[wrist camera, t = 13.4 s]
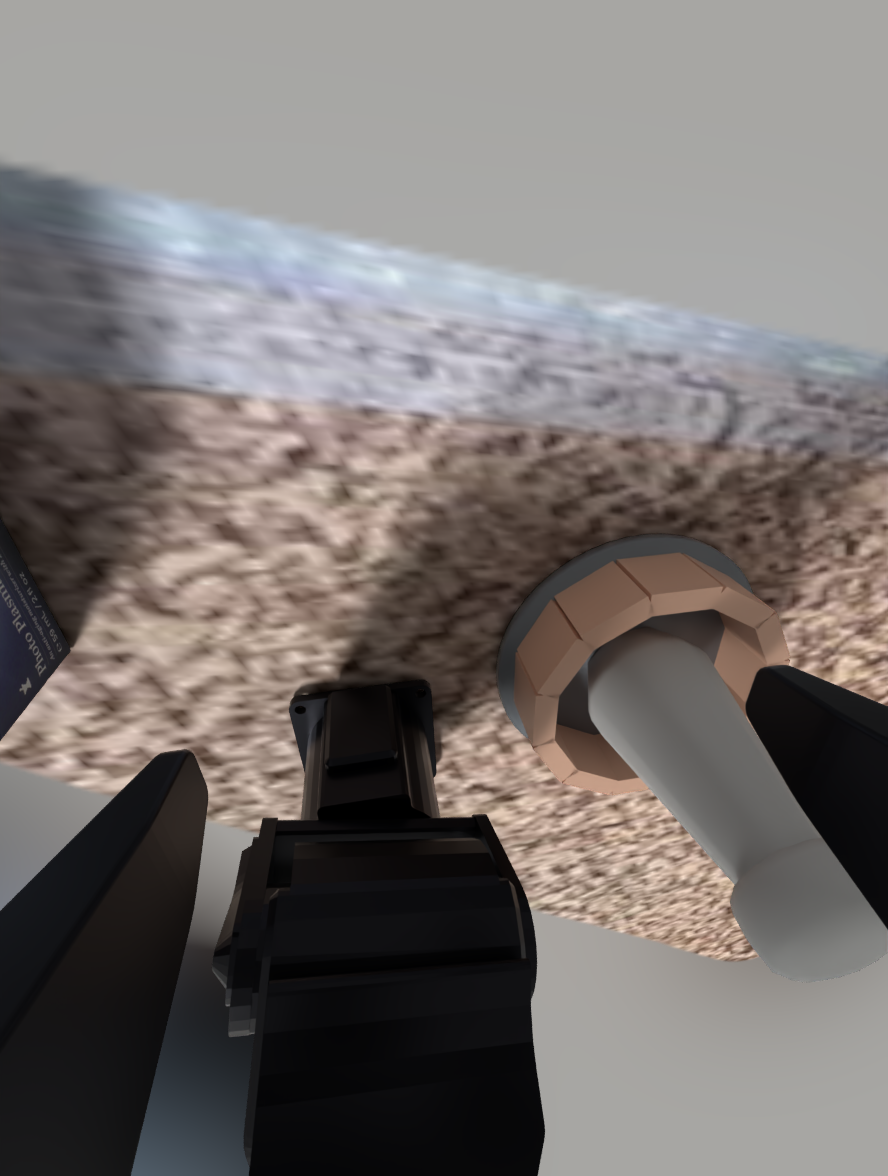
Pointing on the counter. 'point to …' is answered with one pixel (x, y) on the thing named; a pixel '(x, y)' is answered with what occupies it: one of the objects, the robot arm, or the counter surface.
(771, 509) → the counter surface
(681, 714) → the salt shaker
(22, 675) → the small box
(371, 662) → the counter surface
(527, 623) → the socket
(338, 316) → the counter surface
